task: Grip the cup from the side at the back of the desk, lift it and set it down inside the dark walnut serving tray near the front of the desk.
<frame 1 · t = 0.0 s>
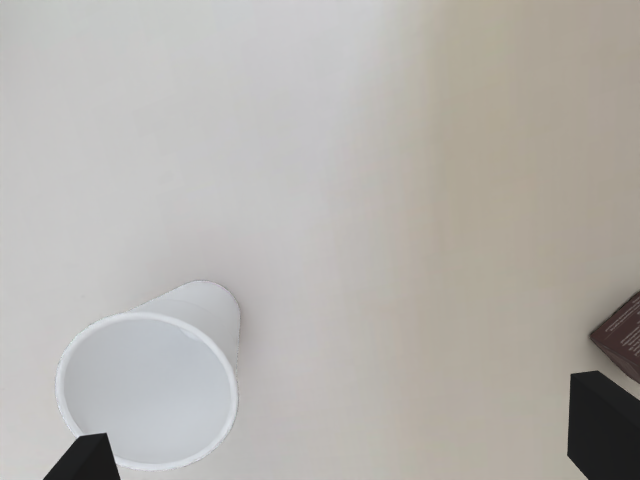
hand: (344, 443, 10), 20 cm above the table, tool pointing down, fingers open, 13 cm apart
box: (629, 331, 32), on the table
cup: (205, 312, 30), on the table
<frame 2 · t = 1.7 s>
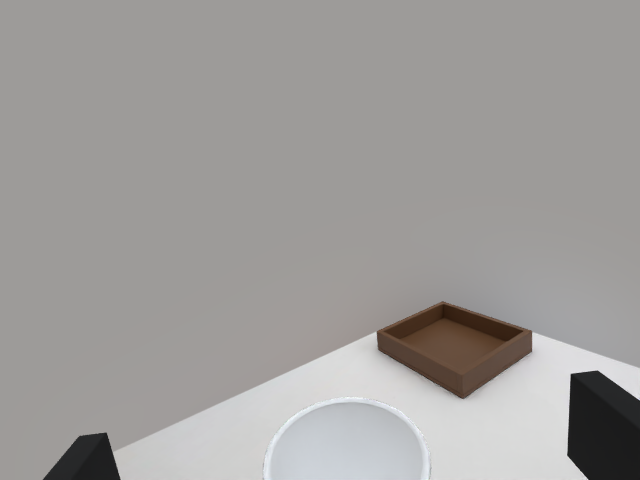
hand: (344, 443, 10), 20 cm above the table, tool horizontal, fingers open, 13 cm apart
tray: (451, 350, 49), on the table
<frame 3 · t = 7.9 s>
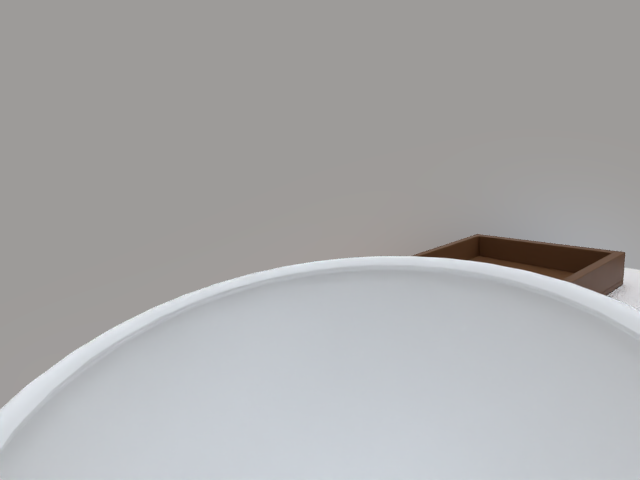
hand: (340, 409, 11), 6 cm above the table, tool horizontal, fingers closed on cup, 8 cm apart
tray: (498, 287, 34), on the table
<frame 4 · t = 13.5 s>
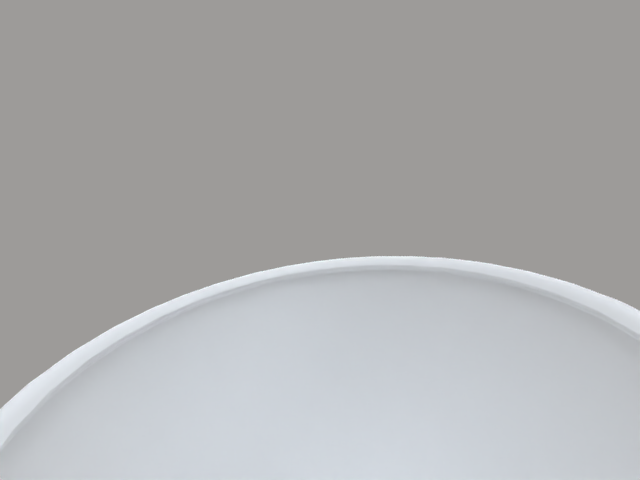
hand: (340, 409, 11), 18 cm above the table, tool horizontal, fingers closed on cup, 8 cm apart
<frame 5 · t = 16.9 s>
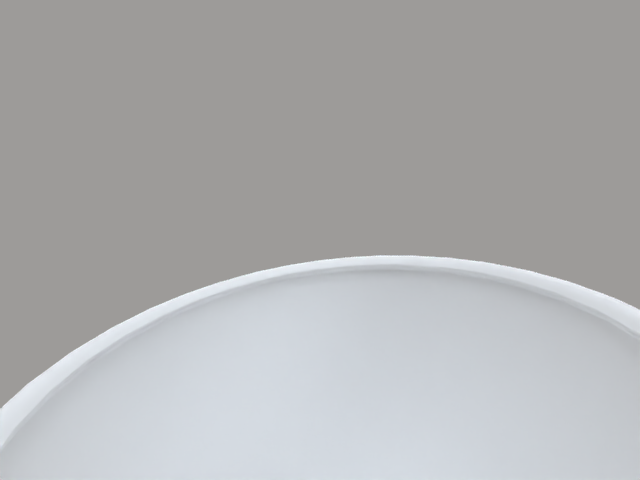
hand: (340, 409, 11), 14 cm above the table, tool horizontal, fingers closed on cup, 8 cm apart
when the fingers open (6 cm above the table, at t = 19.3 s): cup stays where it is, resting on tray.
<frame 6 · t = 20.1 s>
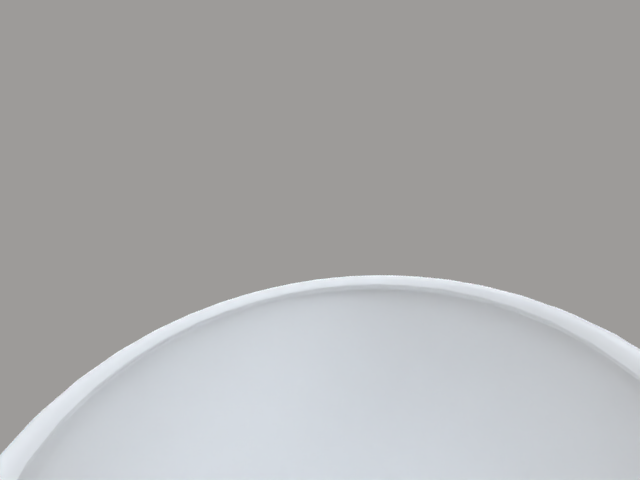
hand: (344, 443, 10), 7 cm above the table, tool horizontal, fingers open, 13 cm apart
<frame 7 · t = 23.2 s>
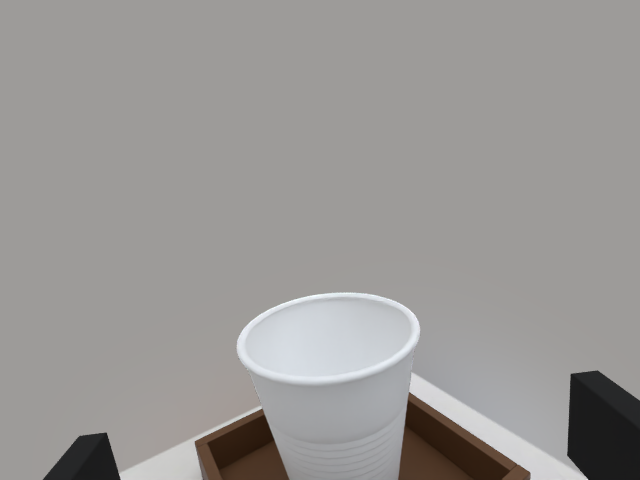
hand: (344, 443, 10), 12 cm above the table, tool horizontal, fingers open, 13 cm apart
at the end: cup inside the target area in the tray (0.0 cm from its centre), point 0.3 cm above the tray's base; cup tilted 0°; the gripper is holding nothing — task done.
